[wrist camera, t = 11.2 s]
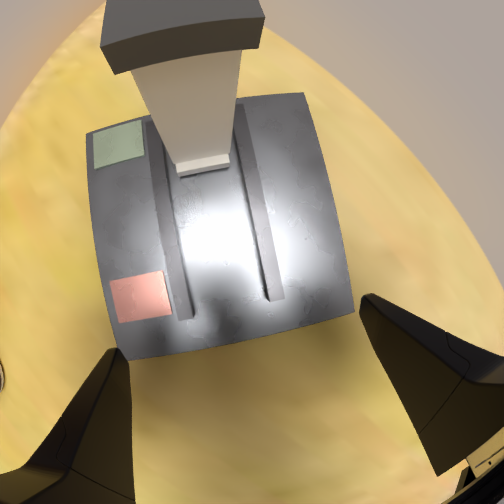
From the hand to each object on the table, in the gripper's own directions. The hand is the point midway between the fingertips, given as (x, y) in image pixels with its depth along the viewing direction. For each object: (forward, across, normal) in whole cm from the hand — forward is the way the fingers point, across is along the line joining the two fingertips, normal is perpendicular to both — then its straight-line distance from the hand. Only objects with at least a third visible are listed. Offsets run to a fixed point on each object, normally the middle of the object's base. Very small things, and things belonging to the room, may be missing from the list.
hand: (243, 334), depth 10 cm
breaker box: (+10, 0, -1) cm, 10 cm away
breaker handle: (+10, 0, -5) cm, 11 cm away
